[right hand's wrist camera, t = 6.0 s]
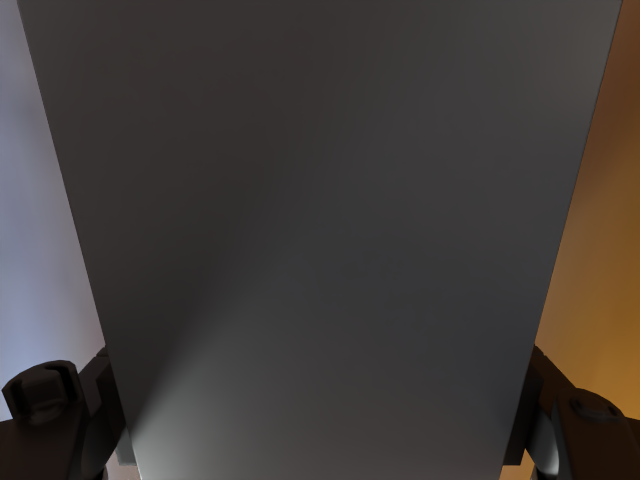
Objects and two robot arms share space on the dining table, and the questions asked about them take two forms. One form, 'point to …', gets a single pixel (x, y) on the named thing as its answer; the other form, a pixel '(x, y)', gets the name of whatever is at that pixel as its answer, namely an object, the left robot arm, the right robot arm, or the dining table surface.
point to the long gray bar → (319, 219)
